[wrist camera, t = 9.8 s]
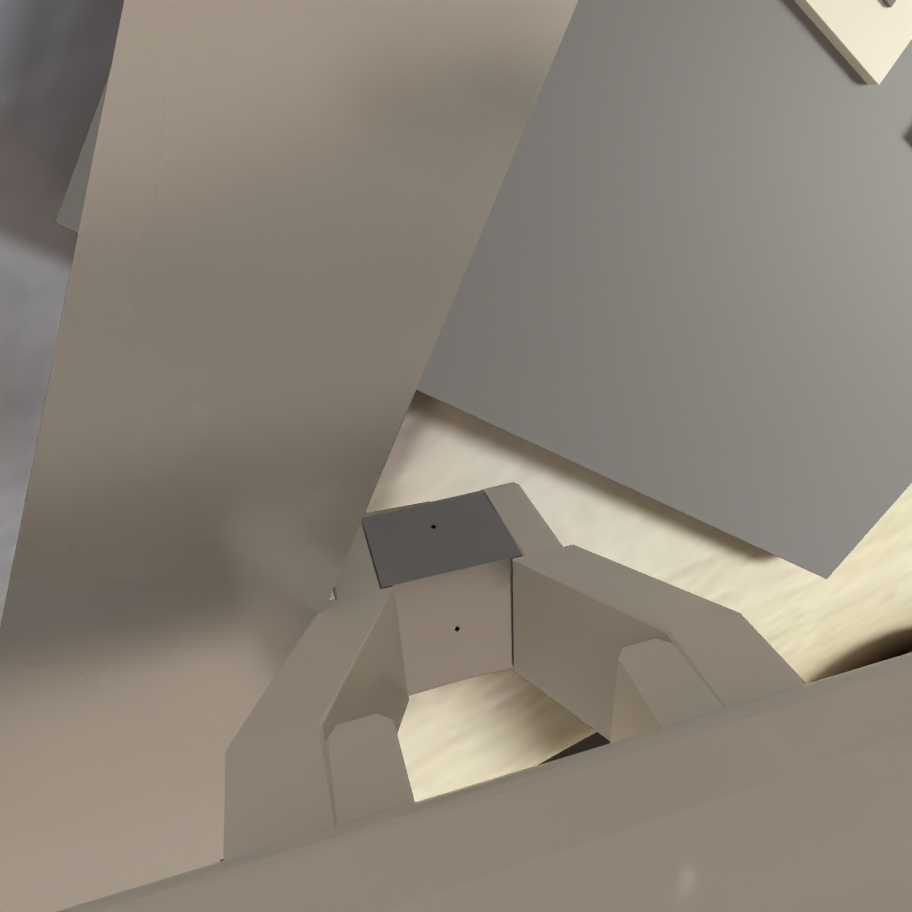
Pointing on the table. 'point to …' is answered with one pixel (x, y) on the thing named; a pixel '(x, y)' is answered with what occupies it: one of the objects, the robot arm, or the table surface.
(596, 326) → the label panel
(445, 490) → the table surface
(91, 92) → the table surface
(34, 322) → the table surface
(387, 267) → the swing bar
